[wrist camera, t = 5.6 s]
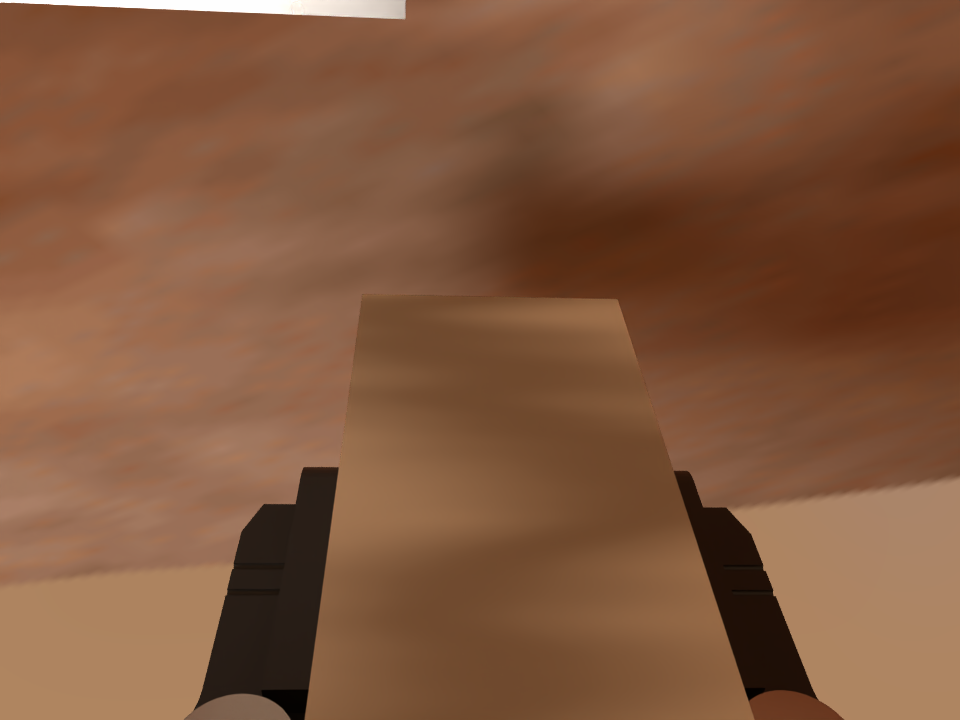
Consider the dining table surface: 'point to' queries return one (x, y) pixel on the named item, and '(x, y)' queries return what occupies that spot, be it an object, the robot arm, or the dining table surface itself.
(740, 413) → the dining table surface
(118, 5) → the square slotted board
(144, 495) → the dining table surface
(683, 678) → the wooden block
